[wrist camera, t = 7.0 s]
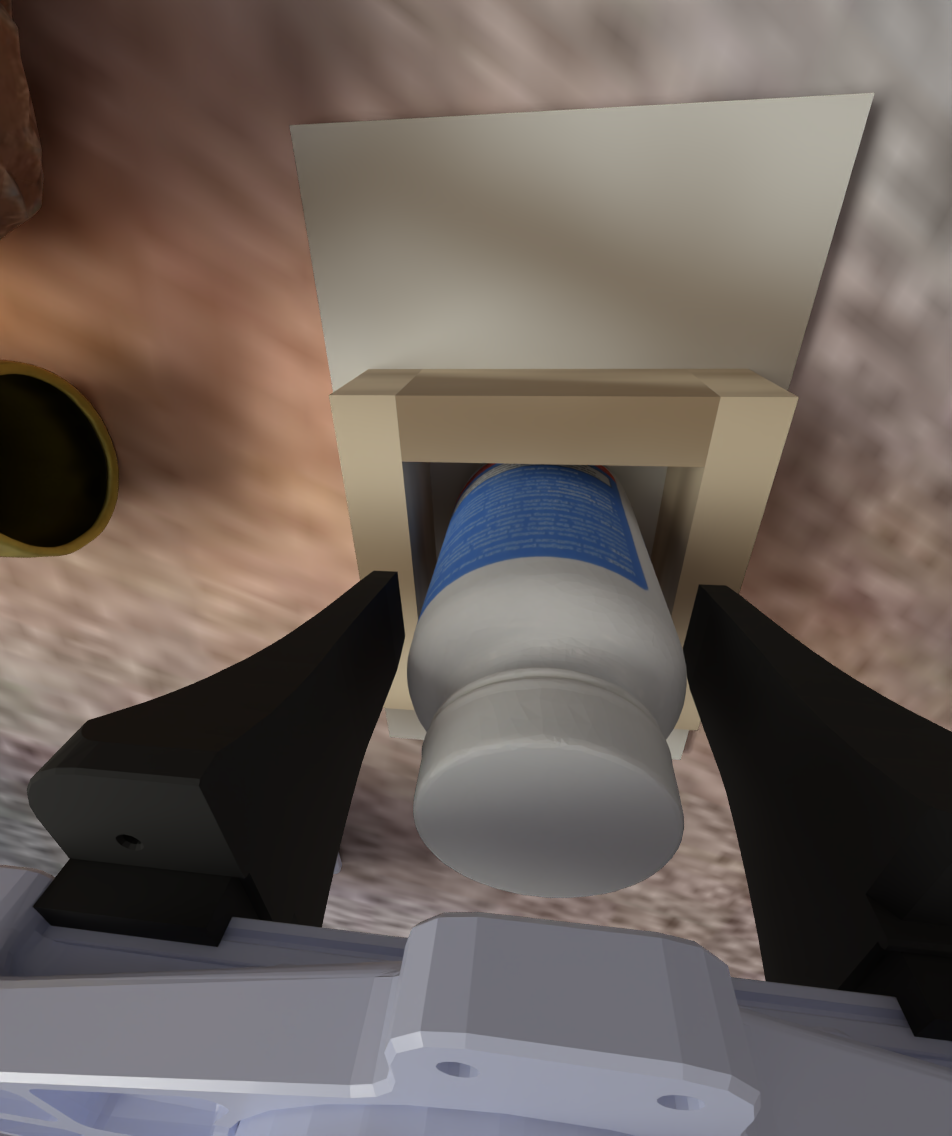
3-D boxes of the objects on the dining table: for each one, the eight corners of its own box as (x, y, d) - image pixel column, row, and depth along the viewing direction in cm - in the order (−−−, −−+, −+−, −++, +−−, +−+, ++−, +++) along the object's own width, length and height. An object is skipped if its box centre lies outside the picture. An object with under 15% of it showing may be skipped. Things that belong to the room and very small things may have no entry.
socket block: (677, 751, 21) (700, 831, 18) (392, 729, 22) (369, 801, 19) (864, 97, 10) (988, 37, 7) (297, 129, 12) (214, 87, 9)
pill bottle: (419, 507, 16) (283, 784, 8) (565, 399, 14) (598, 622, 5) (523, 623, 18) (506, 945, 9) (665, 544, 16) (804, 875, 7)
